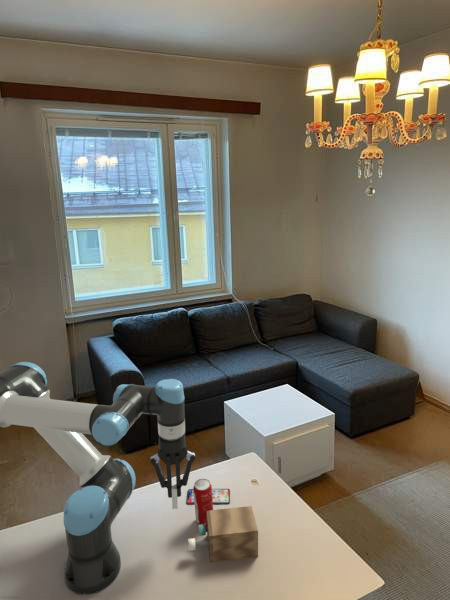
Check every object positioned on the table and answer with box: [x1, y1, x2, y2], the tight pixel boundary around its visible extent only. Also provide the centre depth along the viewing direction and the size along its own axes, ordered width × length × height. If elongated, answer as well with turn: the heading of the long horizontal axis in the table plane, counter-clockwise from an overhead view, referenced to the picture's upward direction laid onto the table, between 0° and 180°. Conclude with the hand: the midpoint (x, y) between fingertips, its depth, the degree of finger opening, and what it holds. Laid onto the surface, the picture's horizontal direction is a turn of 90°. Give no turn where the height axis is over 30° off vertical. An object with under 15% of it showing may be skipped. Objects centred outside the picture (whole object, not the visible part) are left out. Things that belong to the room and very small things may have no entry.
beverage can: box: [192, 478, 214, 527], centre depth 135 cm, size 6×6×15 cm
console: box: [206, 505, 259, 563], centre depth 126 cm, size 14×10×9 cm
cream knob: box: [187, 537, 209, 552], centre depth 123 cm, size 8×3×3 cm, turn 97°
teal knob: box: [197, 524, 208, 537], centre depth 128 cm, size 8×3×3 cm, turn 97°
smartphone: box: [185, 488, 231, 506], centre depth 148 cm, size 8×1×15 cm
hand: (175, 505), depth 125 cm, fingers closed
